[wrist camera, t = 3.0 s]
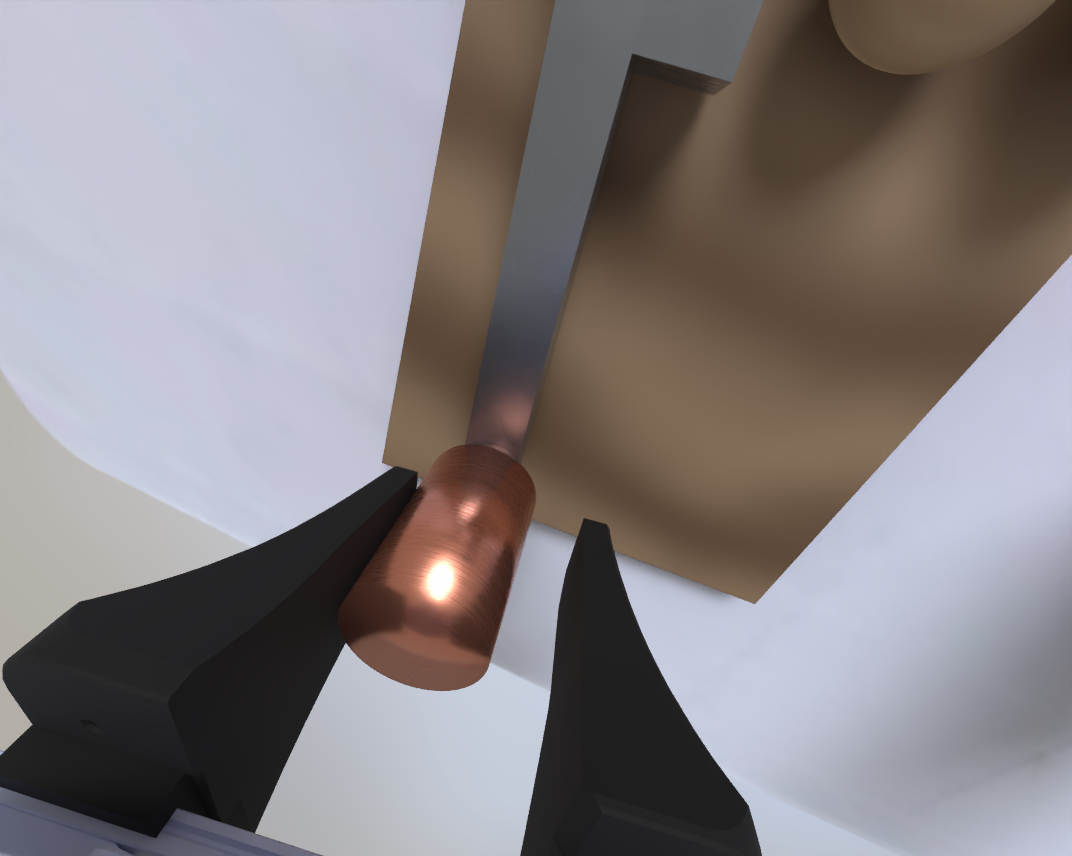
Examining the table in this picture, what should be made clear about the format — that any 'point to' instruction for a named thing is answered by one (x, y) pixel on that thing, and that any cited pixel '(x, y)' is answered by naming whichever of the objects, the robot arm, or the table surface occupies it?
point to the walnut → (928, 30)
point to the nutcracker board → (743, 277)
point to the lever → (524, 339)
